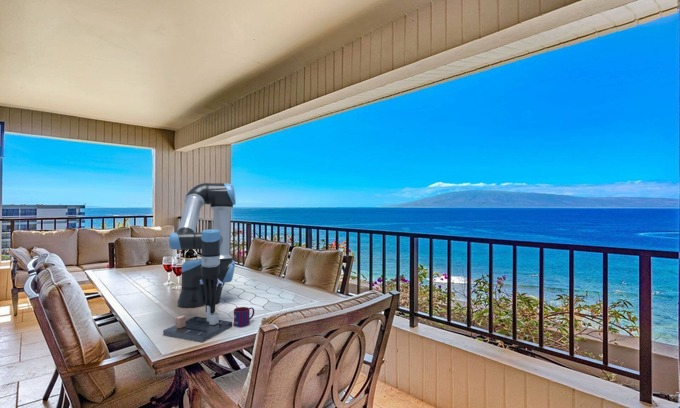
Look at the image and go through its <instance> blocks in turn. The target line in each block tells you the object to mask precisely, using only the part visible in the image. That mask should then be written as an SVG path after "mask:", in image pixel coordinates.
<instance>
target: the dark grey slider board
mask: <svg viewBox="0 0 680 408" xmlns="http://www.w3.org/2000/svg"><path fill="white" fill-rule="evenodd" d="M231 328H233V321H229V320H223V319H219V323H217V324H215V325H211V324H209V321H207V317H203V316H196V315H195V316H194V317H191V318H189V319H186V326H184V327H182V328H175V324H174V325H173V326H170V327H168V328H165V329H163V331H162V333H163V334H162V336H166V337H171V338H177V339H182V340H187V341H192V340H193V342H199V343H205V342H206V341H208V340H210V339H212V338H213V337H216V336H217V335H219V334H221V333H223V332H225V331H226V330H228V329H231Z"/></svg>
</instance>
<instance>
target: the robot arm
mask: <svg viewBox="0 0 680 408" xmlns="http://www.w3.org/2000/svg"><path fill="white" fill-rule="evenodd" d="M184 204H185V205H184V208H183V211H182V214H181V218H180V222H179V224H178V227H177V231H176V232H172V233H170V234H169V237H168V246H169V248H170V249H171V250H180V251H181V250H201V255H200V256H201V257H200V258H195V259H190V260H187V261H184V262H183V263H182V264H181V291H180V293H179V297H178V300H177V307H180V308H185V309H189V308H198V307H202V306H205V313H206V318H207V321H209V315H210V314H212V313H216V305H218V304H220V300H221V296H222V292H223V288H224V286H225V283H231V282H232V281H233V278H234V274H235V273H234V272H235V267H236V266H235V265H236V261H235V260H233V256H232V255H231V254H230V252H231V251H230V246H231V245H230V243H231V241H230V239H231V238H230V237H231V234H230V233H231V232H230V231H231V229H230V227H231V210H233V209H234V206H235V205H236V204H237V202H236V193H235V188H234V184H231V183H225V182H222V183H221V182H217V183H215V182H213V183H212V182H202V183H199V184H197V185H195V186H193V187H192V188H191V189H190V190H189V191H188V192H187V193H186V195H185V198H184ZM204 205H210V209H211V210H212V212H213V227H212V229H203V230H202V231H201V232H197V231H196V230H197V226H198V223H199V219H200V218H199V217H200V213H201V209H202V208H203V206H204Z"/></svg>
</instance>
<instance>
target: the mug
mask: <svg viewBox="0 0 680 408" xmlns="http://www.w3.org/2000/svg"><path fill="white" fill-rule="evenodd" d="M250 310H252V312H251V311H250ZM250 312H251V315H250ZM254 316H255V308H254V307H248V306H238V307H236V308H234V309H233V326H234V327H235V328H243V327H244V328H245V327H247V326H249V325H250V320H251V319H252V318H253V317H254Z"/></svg>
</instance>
